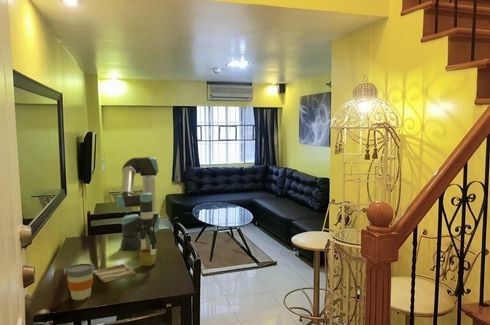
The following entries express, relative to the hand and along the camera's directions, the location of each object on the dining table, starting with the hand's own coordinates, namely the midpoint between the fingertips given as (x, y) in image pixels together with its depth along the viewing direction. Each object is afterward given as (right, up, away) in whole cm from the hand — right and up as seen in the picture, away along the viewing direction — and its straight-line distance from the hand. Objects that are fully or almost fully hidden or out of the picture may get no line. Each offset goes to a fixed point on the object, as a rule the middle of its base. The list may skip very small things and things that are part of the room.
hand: (148, 251), depth 239 cm
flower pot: (0, -9, +1) cm, 9 cm away
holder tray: (-16, -10, -13) cm, 23 cm away
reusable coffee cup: (-23, -13, -43) cm, 51 cm away
